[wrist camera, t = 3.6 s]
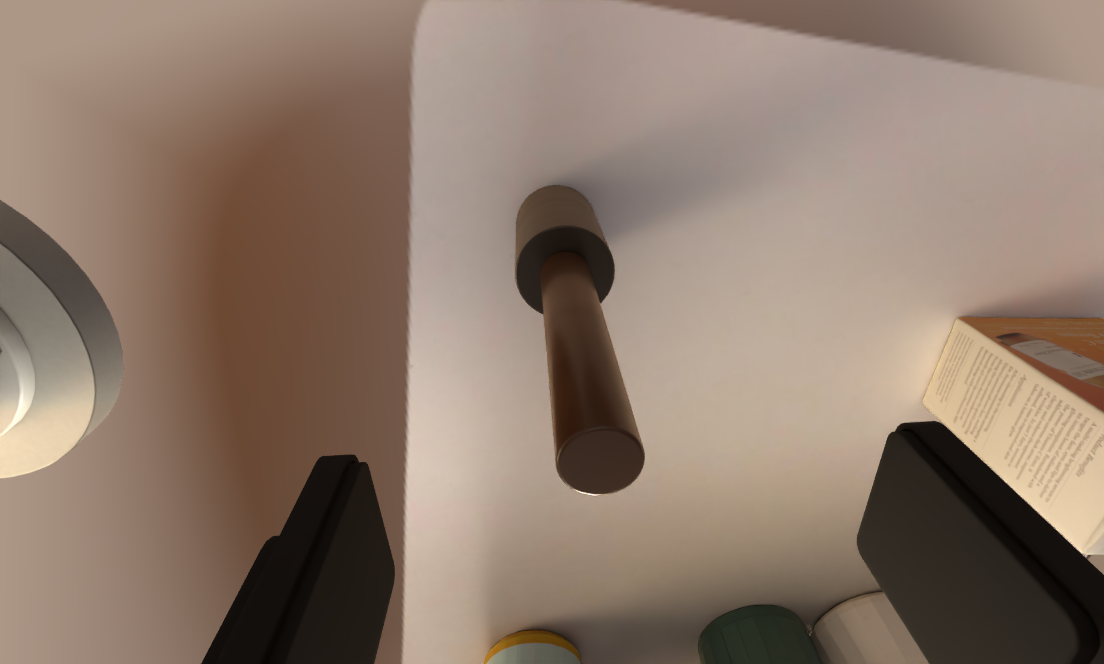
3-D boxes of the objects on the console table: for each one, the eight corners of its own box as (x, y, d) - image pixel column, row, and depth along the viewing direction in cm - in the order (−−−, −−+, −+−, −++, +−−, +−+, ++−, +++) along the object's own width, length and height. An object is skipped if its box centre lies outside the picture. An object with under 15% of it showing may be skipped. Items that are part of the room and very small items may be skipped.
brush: (519, 264, 26) (517, 534, 12) (513, 187, 24) (503, 395, 10) (595, 259, 26) (684, 522, 12) (594, 182, 24) (697, 382, 10)
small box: (1099, 314, 29) (1374, 446, 20) (1051, 403, 32) (1272, 555, 22) (953, 313, 28) (1163, 447, 19) (916, 403, 31) (1085, 559, 22)
